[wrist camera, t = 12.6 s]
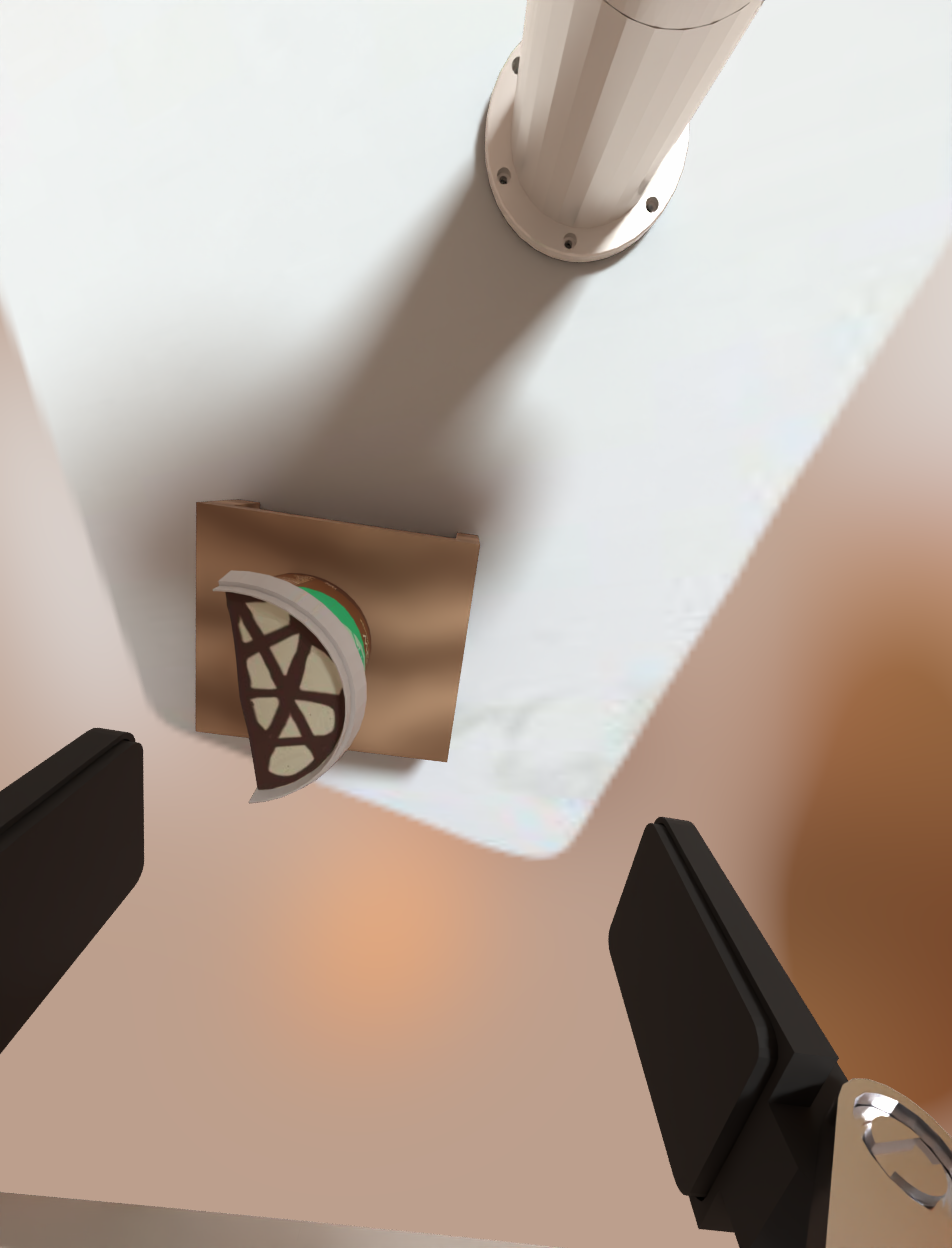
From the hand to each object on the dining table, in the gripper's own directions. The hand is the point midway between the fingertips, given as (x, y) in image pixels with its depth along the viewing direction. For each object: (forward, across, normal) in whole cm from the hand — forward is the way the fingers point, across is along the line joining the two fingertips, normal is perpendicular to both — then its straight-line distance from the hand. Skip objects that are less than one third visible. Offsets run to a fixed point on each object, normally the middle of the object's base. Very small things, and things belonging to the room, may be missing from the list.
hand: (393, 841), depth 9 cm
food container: (+25, +6, +6) cm, 26 cm away
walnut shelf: (+31, +7, +6) cm, 32 cm away
